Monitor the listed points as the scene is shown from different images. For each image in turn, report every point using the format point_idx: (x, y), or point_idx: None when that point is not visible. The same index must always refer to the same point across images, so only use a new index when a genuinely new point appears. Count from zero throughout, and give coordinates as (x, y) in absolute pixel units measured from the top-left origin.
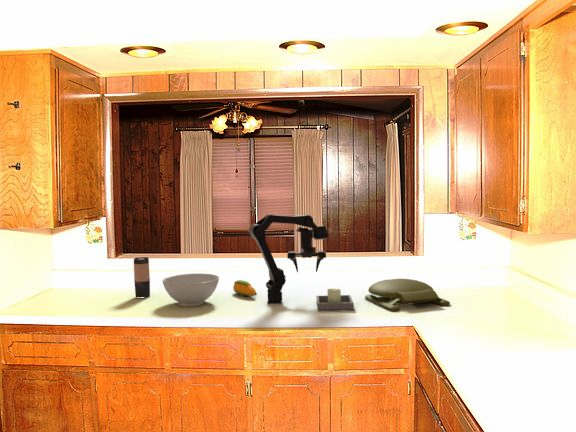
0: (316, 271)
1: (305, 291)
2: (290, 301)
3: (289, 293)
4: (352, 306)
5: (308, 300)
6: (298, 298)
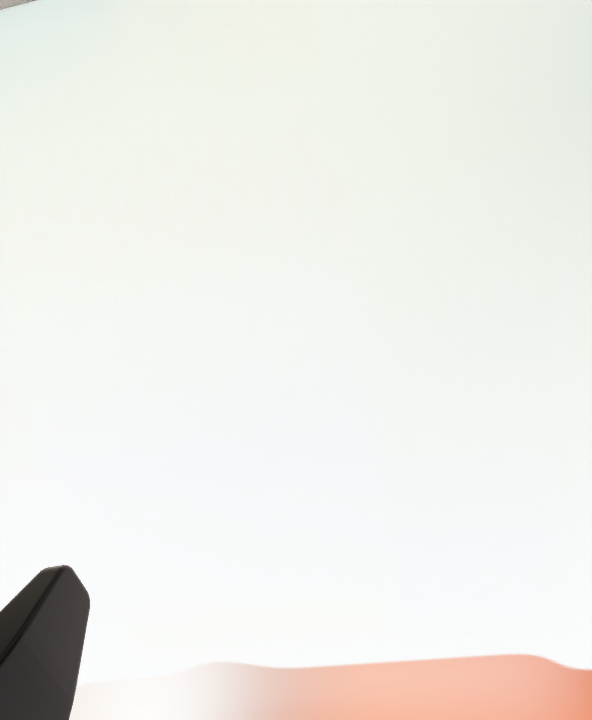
0: (46, 577)
1: (375, 543)
2: (530, 54)
3: (532, 465)
4: None
5: (274, 155)
6: (422, 257)
